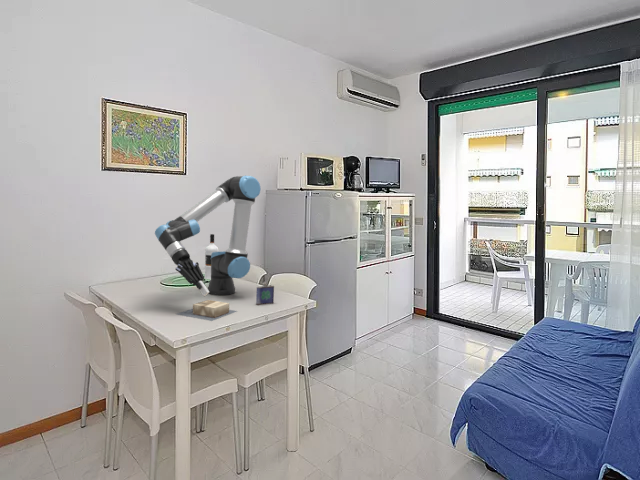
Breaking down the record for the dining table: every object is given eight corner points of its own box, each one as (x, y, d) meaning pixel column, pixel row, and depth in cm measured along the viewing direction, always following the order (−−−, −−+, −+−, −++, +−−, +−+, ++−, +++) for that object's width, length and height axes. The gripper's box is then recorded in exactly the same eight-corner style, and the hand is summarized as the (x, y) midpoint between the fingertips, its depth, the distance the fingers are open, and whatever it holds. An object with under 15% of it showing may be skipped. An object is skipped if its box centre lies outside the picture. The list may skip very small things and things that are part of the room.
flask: (257, 305, 195) (257, 283, 194) (255, 303, 197) (255, 282, 196) (274, 303, 199) (274, 282, 198) (272, 302, 202) (272, 281, 201)
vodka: (215, 283, 245) (216, 235, 243) (201, 282, 246) (201, 234, 244) (221, 280, 254) (222, 234, 252) (207, 279, 256) (208, 233, 253)
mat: (175, 315, 172) (175, 314, 172) (203, 306, 189) (203, 305, 189) (211, 322, 164) (211, 320, 164) (237, 312, 181) (237, 311, 181)
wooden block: (192, 304, 173) (214, 308, 168) (208, 299, 182) (229, 303, 177) (192, 314, 174) (214, 317, 169) (207, 308, 183) (229, 312, 178)
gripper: (184, 257, 188) (211, 296, 183) (163, 260, 176) (191, 302, 171) (193, 247, 186) (221, 286, 180) (172, 249, 174) (201, 291, 168)
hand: (206, 293), depth 176 cm, fingers closed
